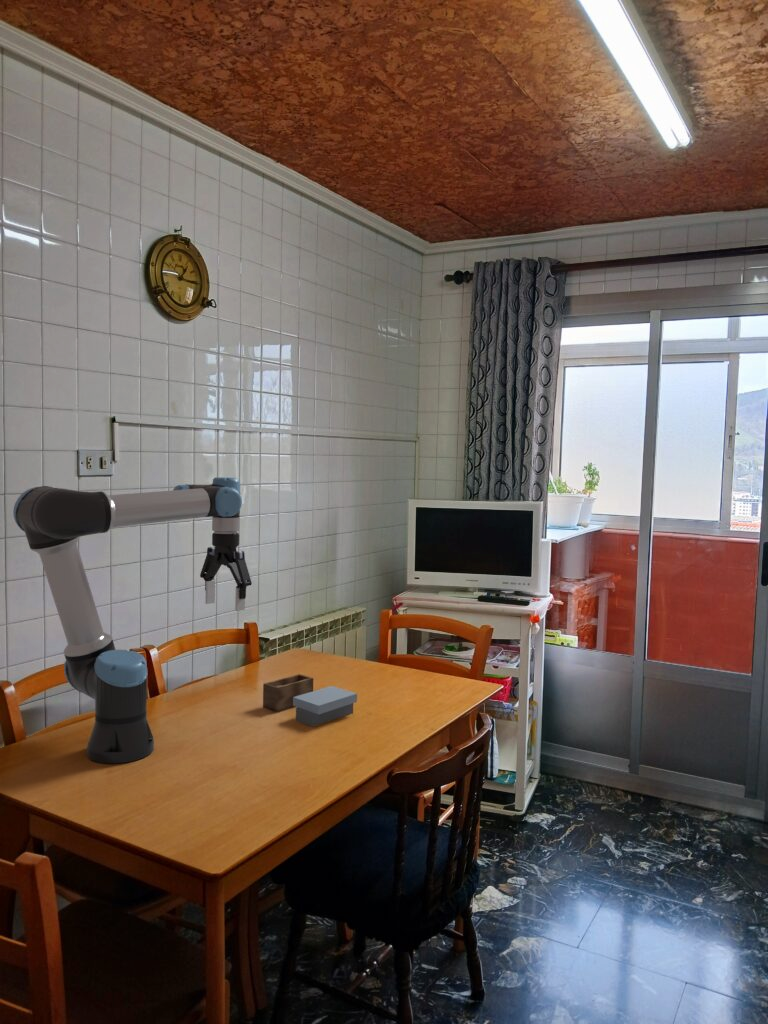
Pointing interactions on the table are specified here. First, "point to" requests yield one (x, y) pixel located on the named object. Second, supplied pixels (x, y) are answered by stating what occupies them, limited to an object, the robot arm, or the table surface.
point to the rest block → (321, 715)
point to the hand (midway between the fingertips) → (224, 606)
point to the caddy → (285, 692)
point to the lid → (324, 699)
